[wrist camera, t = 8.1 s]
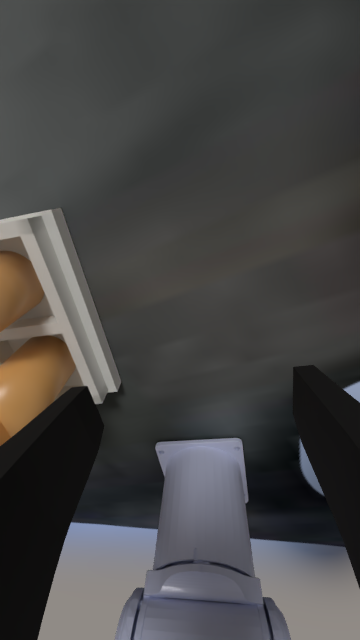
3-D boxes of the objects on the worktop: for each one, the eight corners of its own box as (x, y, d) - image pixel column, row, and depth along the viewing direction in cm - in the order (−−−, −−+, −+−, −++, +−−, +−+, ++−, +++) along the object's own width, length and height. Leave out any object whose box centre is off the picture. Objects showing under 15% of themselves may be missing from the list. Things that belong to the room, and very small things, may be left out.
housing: (121, 381, 22) (88, 461, 16) (30, 390, 23) (-34, 467, 17) (60, 207, 16) (-31, 224, 10) (-57, 231, 18) (-205, 259, 11)
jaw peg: (83, 376, 21) (29, 465, 14) (36, 380, 21) (-37, 469, 15) (58, 314, 18) (-21, 387, 12) (6, 320, 19) (-98, 394, 12)
